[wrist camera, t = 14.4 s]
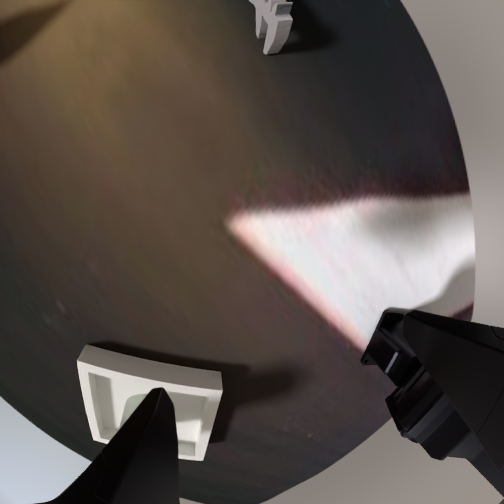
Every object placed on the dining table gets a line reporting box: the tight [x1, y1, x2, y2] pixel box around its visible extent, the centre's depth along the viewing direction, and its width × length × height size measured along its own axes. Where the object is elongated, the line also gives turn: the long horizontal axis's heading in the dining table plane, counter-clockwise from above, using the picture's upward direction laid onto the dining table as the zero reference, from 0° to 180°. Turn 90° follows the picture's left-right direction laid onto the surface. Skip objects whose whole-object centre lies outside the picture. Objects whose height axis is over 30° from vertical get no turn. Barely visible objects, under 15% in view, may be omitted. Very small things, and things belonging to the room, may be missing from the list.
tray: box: [77, 344, 223, 461], centre depth 23 cm, size 13×13×3 cm
